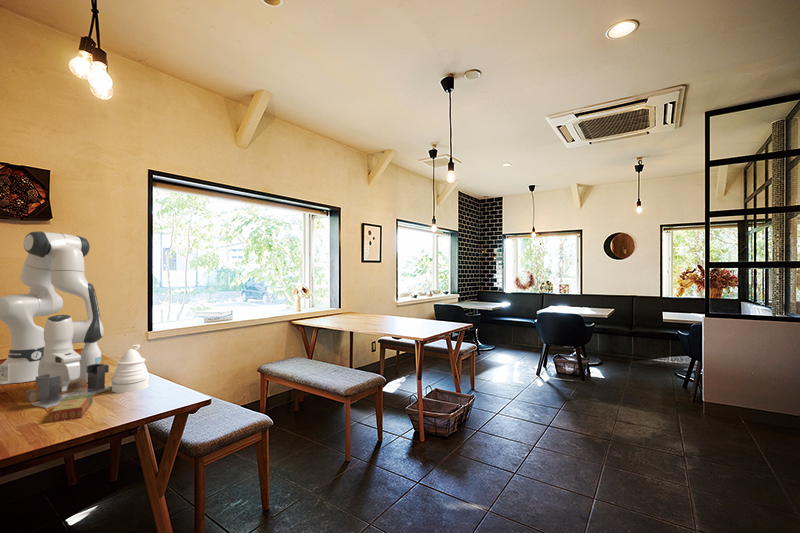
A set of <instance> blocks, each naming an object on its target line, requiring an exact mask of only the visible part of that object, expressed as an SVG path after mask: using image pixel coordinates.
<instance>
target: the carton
mask: <svg viewBox="0 0 800 533" xmlns="http://www.w3.org/2000/svg"><path fill="white" fill-rule="evenodd" d="M92 403H94V402H93V395H92V394H85V395H78V396H71V397H65V398H64V399H63V400H62V401H61V402H60V403H59V404H58V405H55V406H54V408H53V409H52V410H51V412H50V423H51V422H52V423H58V422H57V421H59V422H65V421H64V420H66V421H72V420H78V419H82V418H83V417H84V416H85V415H84V414H86V413H87V412H88V410H90V407H91V406H92V405H93V404H92ZM71 419H72V420H71Z"/></svg>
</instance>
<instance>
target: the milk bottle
mask: <svg viewBox="0 0 800 533" xmlns="http://www.w3.org/2000/svg"><path fill="white" fill-rule="evenodd" d="M80 355H81V360H78V361H79V362H80V376H79V378H78V379H80V378H82V379H86V384H88V373H87V365H92V364H96V363H98V364H102V352H101V349H100V347H99V345H98V341H97V342H95V343H84V345H83V348H82V349H81V351H80Z"/></svg>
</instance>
